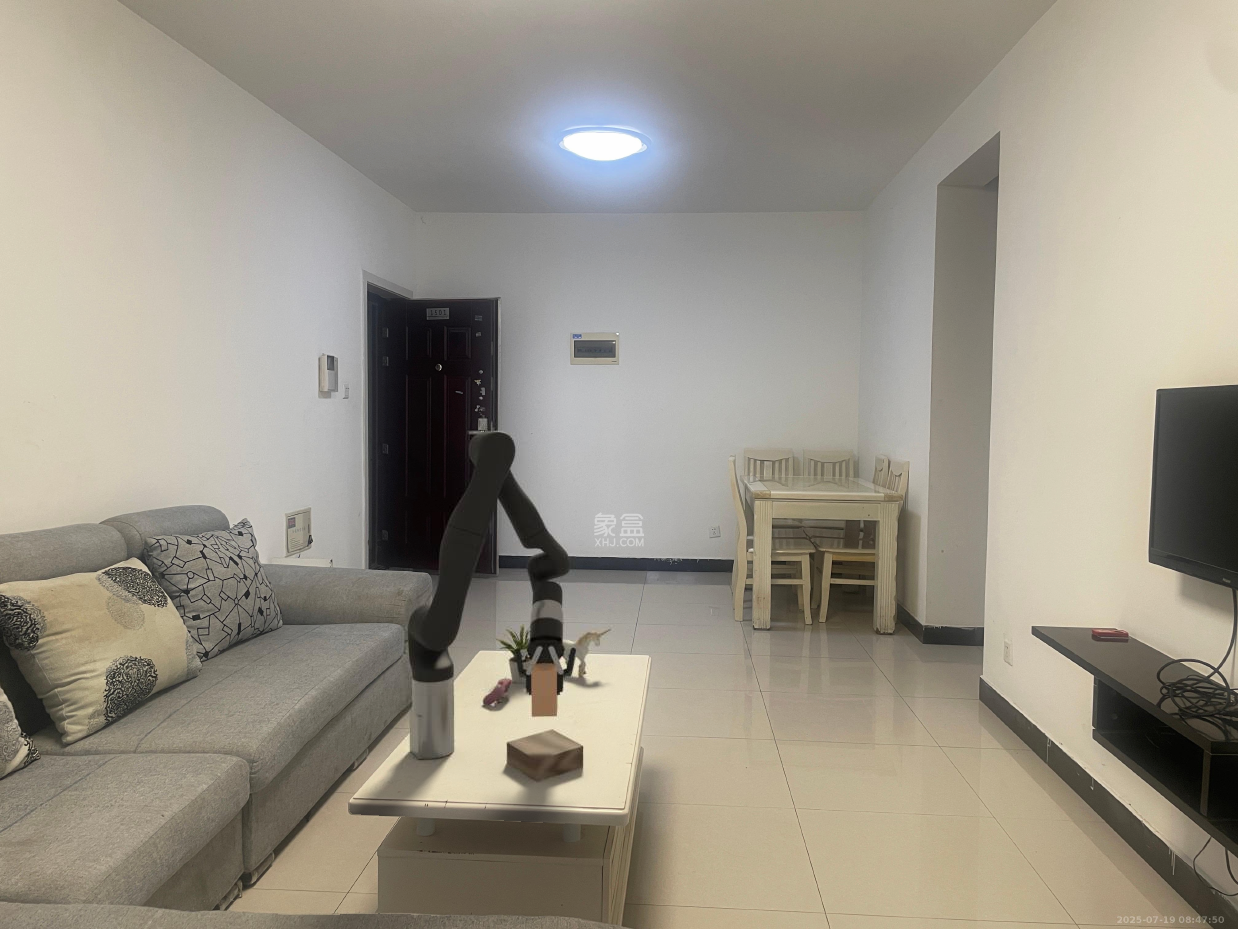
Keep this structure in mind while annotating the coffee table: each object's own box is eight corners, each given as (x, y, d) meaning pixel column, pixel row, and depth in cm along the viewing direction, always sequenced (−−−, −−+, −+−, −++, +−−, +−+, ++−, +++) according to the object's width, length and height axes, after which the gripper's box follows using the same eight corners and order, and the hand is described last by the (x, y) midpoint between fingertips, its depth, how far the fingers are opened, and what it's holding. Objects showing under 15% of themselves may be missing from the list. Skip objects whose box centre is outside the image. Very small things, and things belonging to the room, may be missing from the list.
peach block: (531, 716, 170) (531, 670, 169) (533, 707, 175) (532, 663, 175) (556, 716, 170) (556, 670, 170) (557, 707, 176) (557, 662, 175)
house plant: (532, 668, 242) (532, 615, 241) (557, 680, 231) (557, 624, 230) (490, 677, 233) (490, 622, 233) (514, 690, 222) (514, 632, 222)
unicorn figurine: (604, 679, 232) (605, 634, 231) (542, 674, 237) (542, 629, 236) (611, 672, 239) (611, 628, 238) (550, 667, 244) (550, 624, 243)
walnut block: (536, 783, 165) (536, 760, 165) (506, 764, 174) (506, 742, 174) (583, 768, 172) (583, 745, 172) (552, 750, 182) (552, 729, 181)
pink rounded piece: (495, 712, 209) (506, 690, 208) (480, 703, 210) (491, 681, 209) (507, 700, 219) (518, 678, 218) (493, 691, 220) (503, 670, 219)
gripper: (514, 616, 179) (509, 686, 168) (577, 615, 180) (577, 685, 168) (516, 633, 185) (512, 702, 173) (578, 632, 185) (577, 700, 174)
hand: (544, 693), depth 171 cm, fingers closed on peach block, 5 cm apart
